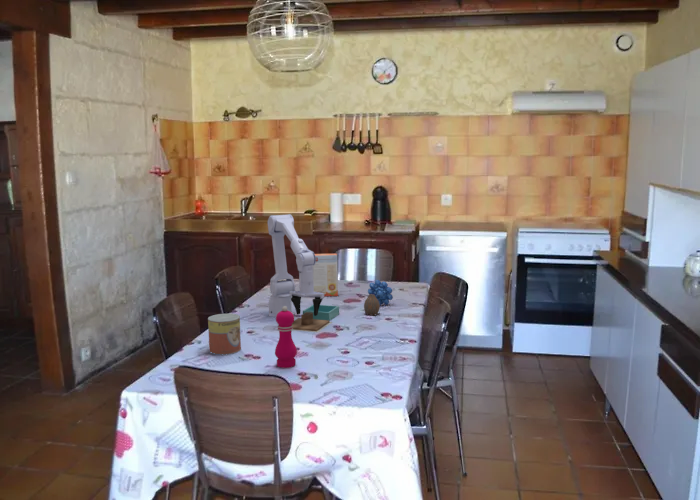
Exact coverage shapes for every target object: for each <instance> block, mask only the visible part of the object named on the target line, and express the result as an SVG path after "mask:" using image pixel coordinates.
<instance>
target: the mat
mask: <svg viewBox="0 0 700 500" xmlns="http://www.w3.org/2000/svg"><path fill="white" fill-rule="evenodd" d="M331 324H333V321H330V323H328V324H327V325H325V326H324V327H322V328H321V329H319V330H318V331H317V332H316V331H306V330H295V329H293V330H292V331H300V332H308V333H319V332H321V331H322V330H323V329H325V328H327V327H329V325H331Z"/></svg>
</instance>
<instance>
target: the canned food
mask: <svg viewBox="0 0 700 500" xmlns="http://www.w3.org/2000/svg"><path fill="white" fill-rule="evenodd" d="M240 319H241V316H240V315H239V314H237V313H218V314H214V315H210V316H208V318H207V324H208V328H207V329H208V344H209V347H208V348H209V349H208V351H209V350H210V352H212V353H215V354H214V355H216V354H220V355H219V356H222V354H223V356H225V355H226V354H227V355H233V354H236V353H238V352H241V350H242V345H241V343H242V341H241V320H240ZM210 352H209V353H210ZM212 353H211V354H212ZM227 355H226V356H227Z"/></svg>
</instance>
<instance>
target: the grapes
mask: <svg viewBox="0 0 700 500" xmlns="http://www.w3.org/2000/svg"><path fill="white" fill-rule="evenodd" d="M367 293H368V294H374V295H375V297H376V298H377V300H378V301H379V304H380V306H382V305H383V304H384V305H385V306H387V305H389V303H390V301H392V300H393V299H394V297H393V294H392V293H393V288H392V287H390V286H388V283H387V282H386V281H380V280H379V279H376V280H374V282H370V283H369V288H368V289H367Z"/></svg>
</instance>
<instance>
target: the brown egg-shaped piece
mask: <svg viewBox="0 0 700 500" xmlns="http://www.w3.org/2000/svg"><path fill="white" fill-rule="evenodd" d="M368 294H369V293H368ZM380 307H381V305H380V304H379V301H378V300H377V298H376V297H375V295H374V294H369V295H368V296H367V298H366V299H365V300H364V302H363V311H364V312H365V314H366V315H367V316H376V315H377V314H378V313H379V312H380Z"/></svg>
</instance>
